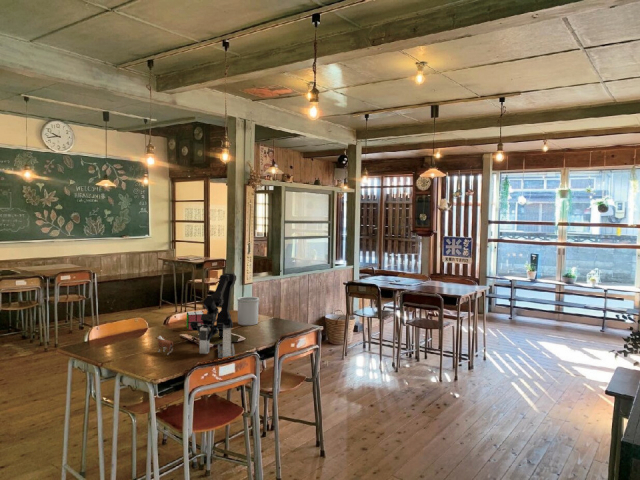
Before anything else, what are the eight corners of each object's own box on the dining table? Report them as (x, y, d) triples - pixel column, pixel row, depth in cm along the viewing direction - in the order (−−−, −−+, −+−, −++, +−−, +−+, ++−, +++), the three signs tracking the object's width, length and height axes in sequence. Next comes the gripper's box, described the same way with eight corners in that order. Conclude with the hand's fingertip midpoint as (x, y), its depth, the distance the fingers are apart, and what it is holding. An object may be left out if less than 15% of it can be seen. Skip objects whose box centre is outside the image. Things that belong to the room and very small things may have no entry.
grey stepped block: (217, 348, 262) (218, 322, 261) (233, 348, 263) (233, 321, 263) (218, 358, 244) (218, 330, 243) (234, 358, 246) (235, 329, 245)
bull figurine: (160, 349, 258) (161, 334, 257) (174, 354, 249) (175, 339, 249) (153, 350, 254) (153, 335, 254) (167, 356, 246) (167, 340, 245)
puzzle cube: (203, 329, 304) (204, 314, 303) (188, 330, 300) (188, 314, 300) (201, 325, 313) (202, 311, 313) (186, 326, 309) (186, 311, 309)
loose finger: (202, 351, 256) (202, 326, 255) (209, 351, 256) (209, 326, 255) (198, 353, 251) (199, 328, 251) (206, 354, 251) (206, 328, 250)
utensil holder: (232, 322, 325) (233, 297, 324) (250, 319, 335) (251, 295, 334) (244, 326, 314) (245, 300, 313) (262, 323, 324) (263, 298, 323)
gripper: (191, 306, 258) (182, 331, 247) (224, 308, 255) (217, 333, 245) (196, 317, 266) (188, 342, 256) (228, 319, 264) (221, 344, 253)
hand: (203, 340), depth 252 cm, fingers closed on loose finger, 4 cm apart
